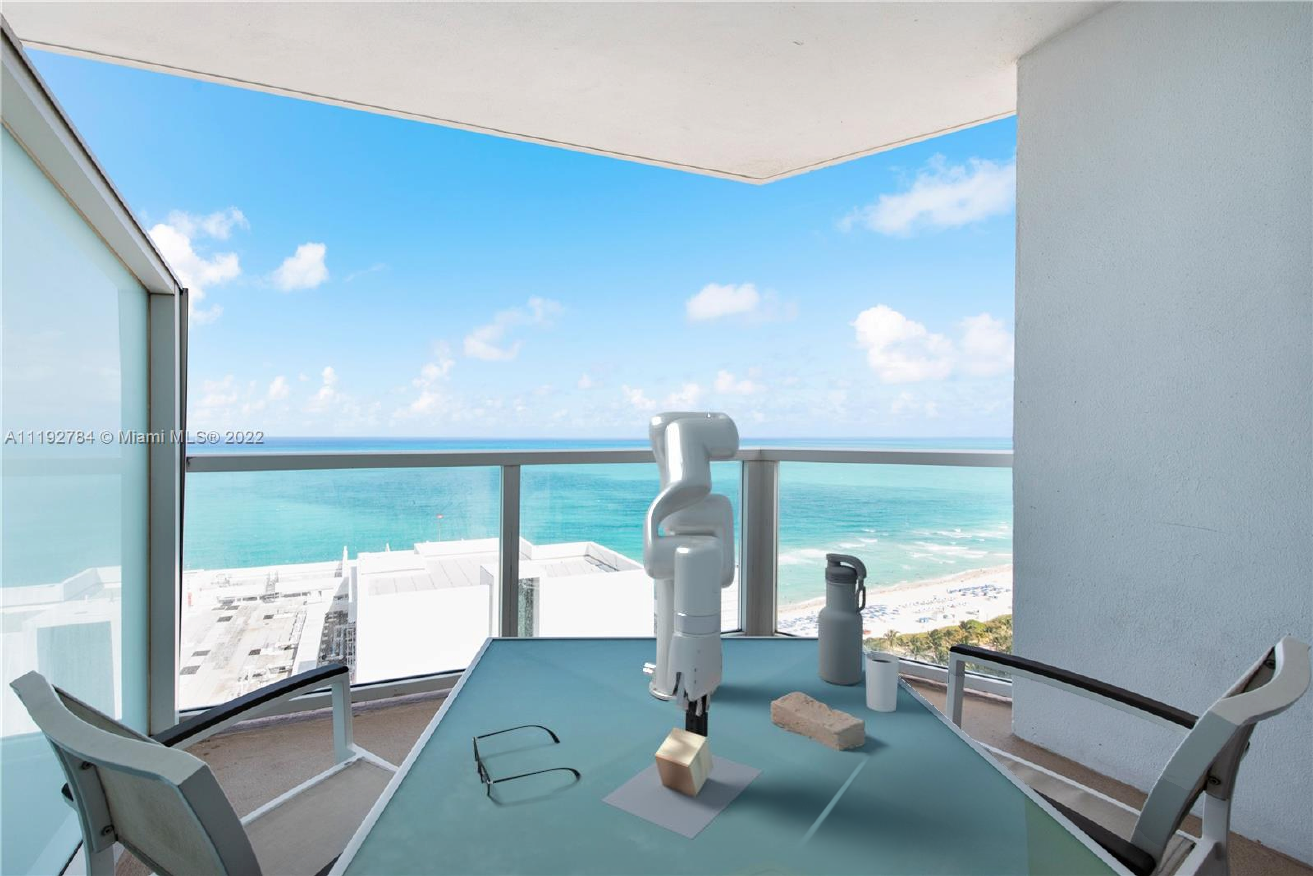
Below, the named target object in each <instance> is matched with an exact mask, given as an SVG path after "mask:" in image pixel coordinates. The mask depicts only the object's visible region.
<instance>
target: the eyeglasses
mask: <svg viewBox="0 0 1313 876" xmlns="http://www.w3.org/2000/svg"><path fill="white" fill-rule="evenodd" d="M527 727H529V728H530V727H535V728H539V729H543V730H544V731H546V732H547V733H548V734H549V735H550V737H551V738H552V739H553V742H554V743H556V744H557V743H558V744H560V743H561V740H559V738H558V737H557V735H556V734H555V733H554V732H553V731H552V730H550V729H549V728H547V727H544V726H542V725H538V724H537V725H535V724H534V725H533V724H531V725H530V724H529V725H522V726H518V727H514V728H513V727H512V728H509V729H505V730H504V729H503V730H501V731H497V732H492V733H488V734H484V735H480V736H473V737H472V742H473V749H474V750H473V751H474V753H473V754H474V761H475V762H476V763H477V772H478V773H479V776H480V781H481V784H484V779H483V775H484V776H485V777H486V781H487V782H486V783H487V794H486V796H487V797H488V796H489V797H490V794H491V793H490V792H491V791H490V790H491V785H493V784H497V783H501V782H507V781H510V780H511V781H512V780H514V779H515V780H516V779H521V778H522V777H528V776H532V775H536V774H537V775H538V774H541V773H545V772H551V771H559V770H560V771H561V770H566V771H570V772H572V773H573V775H574V776H575V777H579V776H580V775H581V773H580V772H579V771H578V770H577V769H575V768H571V767H557V768H551V769H545V770H540V771H535V772H531V773H526V774H520V775H516V776H511V777H507V778H506V777H505V778H500V779H496V780H492V781H491V778H490V776H489V773H488V772H487V769H486V767H485V765H484V763H483V762H482V761H481V760H480V754H479V750H478V746H477V740H479V739H484V738H487V737H491V736H494V735H498V734H501V733H502V734H503V733H507V732H510V731H514V730H518V729H523V728H527Z"/></svg>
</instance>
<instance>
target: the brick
mask: <svg viewBox="0 0 1313 876" xmlns="http://www.w3.org/2000/svg"><path fill="white" fill-rule="evenodd" d="M770 717H771V722H772V723H774V724H775V725H777V726H778V727H780V728H782V729H785V730H786V731H788V732H791V733H794V734H798V735H801V736H803V737H808V738H810V739H812V740H814V741H815V742H817V743H820V744H823V745H825V746H827V747H829V748H832V749H834V750H836V751H839V752H841V751H844V750H847V749H849V750H850V749H851V750H852V749H855V748H858V747H861V746H863V745H865V743H866V742H867V741H866V735H867V734H866V733H867V732H866V731H865V728H866V723H865V720H863V719H861V718H858V717H855V716H854V715H852V714H849V713H848V712H847V713H846V712H844V711H842V710H838V709H833V708H832V707H829V706H828V705H827V704H826V703H823V702H819V701H818V700H816V699H815V698H813V697H811V696H809V695H807V694H805V693H803V692H801V691H794V692H790V693H788V694H786V695H782V696H781V697H780V698H777V699H775V700H771V703H770Z"/></svg>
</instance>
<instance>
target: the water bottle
mask: <svg viewBox="0 0 1313 876" xmlns="http://www.w3.org/2000/svg"><path fill="white" fill-rule="evenodd" d="M825 560H827V564H826V567H825V568H824V571H825V572H824V578H825V579H824V581H825V585H826V586H825V607H823V608H821V609H820V611H819V613H818V617H817V618H818V622H817V624H818V628H817V629H818V630H817V633H818V634H817V635H818V636H817V675H818V676H819V678H820V679H822V681H825V682H827V683H829V682H830V684H833V685H837V684H838V685H839V686H850V685H851V686H853V685H855V684H858V683H860V682H861V680H862V679H863V649H864V647H863V645H864V644H863V641H864V640H863V639H864V638H863V637H864V635H863V634H864V633H863V631H864V627H863V626H864V623H863V621H864V619H863V615H862V613H861V612H862V611H864V609H866V603H867V602H866V601H867V599H866V598H867V595H866V593H867V588H866V586H865V585H864V584H865V581H864V580H865V579H866V578H867V575H868V574H867V568H866V566H865V564H864V562H862V561H861V559H859V558H858V557H856V556H854V555H849V554H843V553H842V554H841V553H826V554H825ZM842 563H844V564H842ZM845 563H846V564H848V565H845ZM860 593H862V598H861V599H862V602H861V606H860Z"/></svg>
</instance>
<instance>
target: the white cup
mask: <svg viewBox="0 0 1313 876" xmlns="http://www.w3.org/2000/svg"><path fill="white" fill-rule="evenodd" d="M864 655H865V656H864V657H865V658H864V661H865V662H864V663H865V667H864V668H865V693H866V696H865V698H866V705H867V708H869V709H871V710H873V711H876V712H882V713H890V712H891V713H892V712H895V711H896V710H897V700H898V699H897V697H898V684H899V683H898V682H899V664H900V658H899V657H898V656H896V655H894V654H892V653H888V652H883V651H882V652H881V651H873V652H871V651H870V652H868V653H866V654H864Z"/></svg>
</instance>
